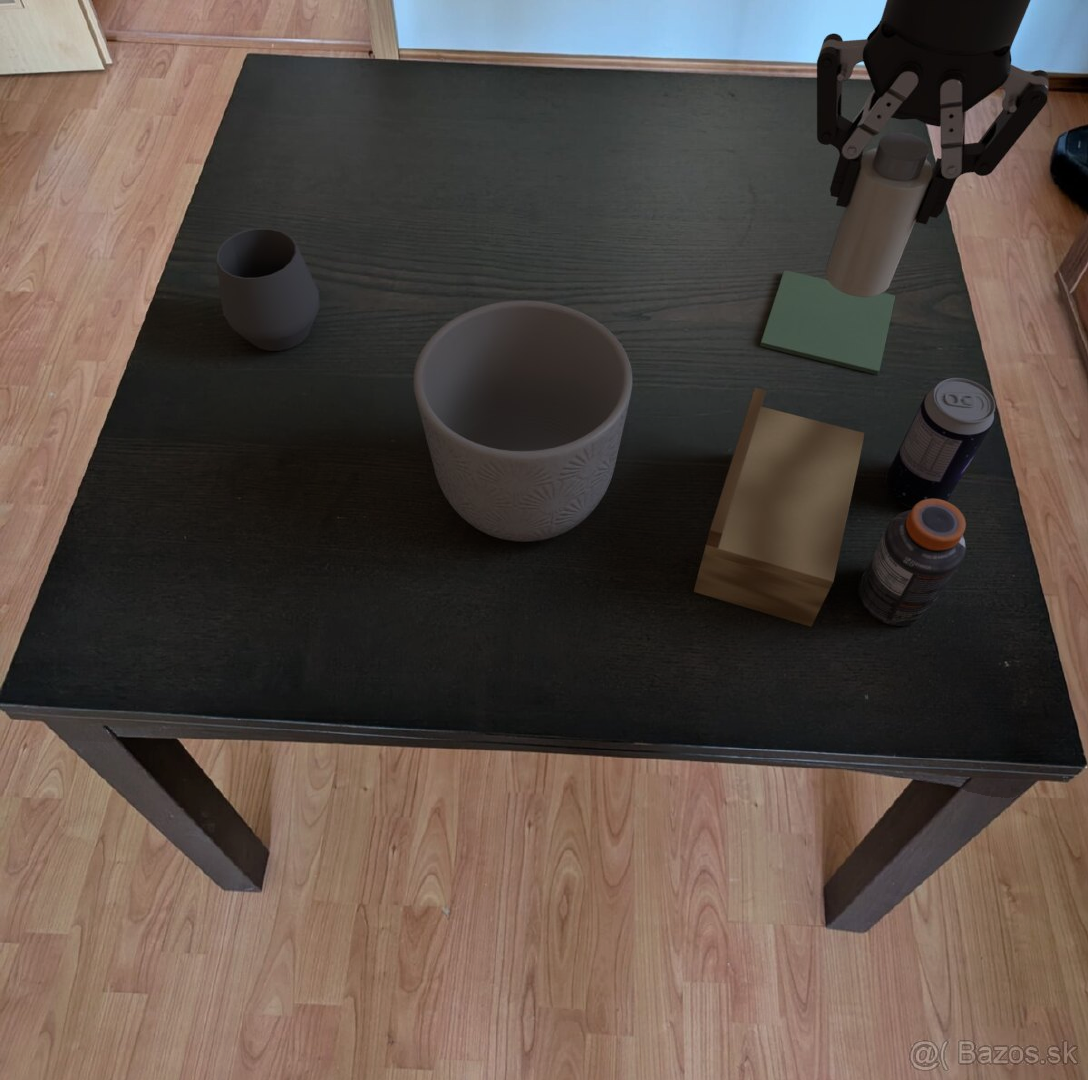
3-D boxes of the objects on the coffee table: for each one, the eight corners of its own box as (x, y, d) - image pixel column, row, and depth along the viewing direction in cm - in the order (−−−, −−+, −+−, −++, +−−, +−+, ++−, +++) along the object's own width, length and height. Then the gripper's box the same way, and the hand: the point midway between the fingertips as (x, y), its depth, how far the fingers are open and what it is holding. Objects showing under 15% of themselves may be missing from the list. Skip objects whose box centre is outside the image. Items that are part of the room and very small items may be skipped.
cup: (345, 328, 97) (327, 248, 89) (276, 378, 93) (251, 299, 84) (283, 289, 100) (261, 209, 92) (214, 336, 96) (184, 256, 88)
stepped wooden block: (843, 483, 86) (872, 416, 78) (811, 627, 77) (840, 567, 70) (736, 454, 88) (754, 387, 80) (693, 592, 79) (709, 530, 72)
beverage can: (949, 519, 83) (1004, 429, 74) (884, 511, 84) (930, 421, 74) (944, 470, 87) (996, 378, 77) (881, 463, 87) (925, 370, 77)
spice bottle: (894, 262, 70) (945, 133, 62) (886, 303, 68) (938, 174, 59) (830, 249, 71) (871, 119, 62) (820, 289, 68) (861, 159, 60)
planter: (639, 554, 81) (658, 438, 69) (445, 586, 79) (428, 473, 67) (594, 411, 91) (603, 286, 78) (420, 437, 88) (401, 313, 76)
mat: (893, 299, 100) (895, 295, 100) (877, 375, 94) (879, 371, 93) (782, 274, 102) (784, 269, 102) (759, 346, 96) (760, 342, 95)
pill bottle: (930, 576, 80) (982, 496, 71) (927, 635, 77) (981, 559, 67) (859, 561, 81) (901, 479, 72) (853, 618, 78) (896, 540, 68)
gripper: (836, -54, 50) (769, 218, 64) (1120, -9, 47) (985, 264, 61) (855, -111, 54) (788, 157, 68) (1118, -72, 51) (992, 198, 65)
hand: (882, 207), depth 64 cm, fingers closed on spice bottle, 4 cm apart
